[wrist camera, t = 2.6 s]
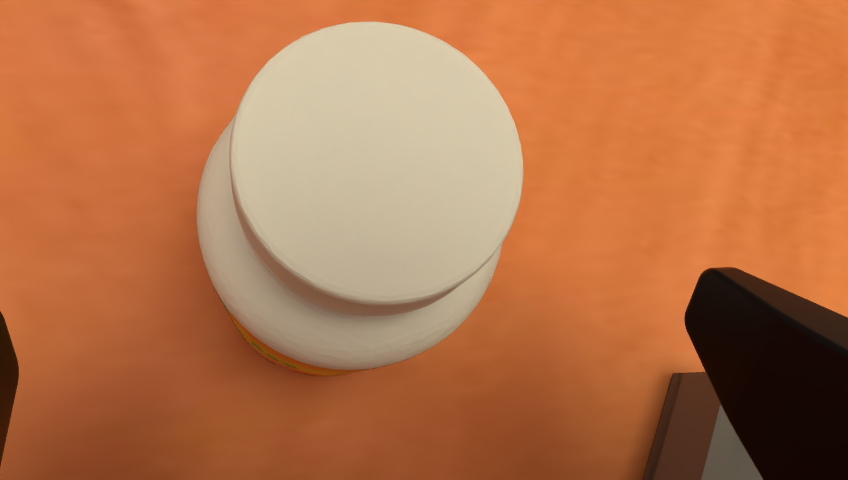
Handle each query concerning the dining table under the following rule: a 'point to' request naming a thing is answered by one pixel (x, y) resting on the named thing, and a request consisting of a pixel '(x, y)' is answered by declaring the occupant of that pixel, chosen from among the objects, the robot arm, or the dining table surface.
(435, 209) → the supplement bottle
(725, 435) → the charcoal tray
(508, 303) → the dining table surface
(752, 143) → the dining table surface
